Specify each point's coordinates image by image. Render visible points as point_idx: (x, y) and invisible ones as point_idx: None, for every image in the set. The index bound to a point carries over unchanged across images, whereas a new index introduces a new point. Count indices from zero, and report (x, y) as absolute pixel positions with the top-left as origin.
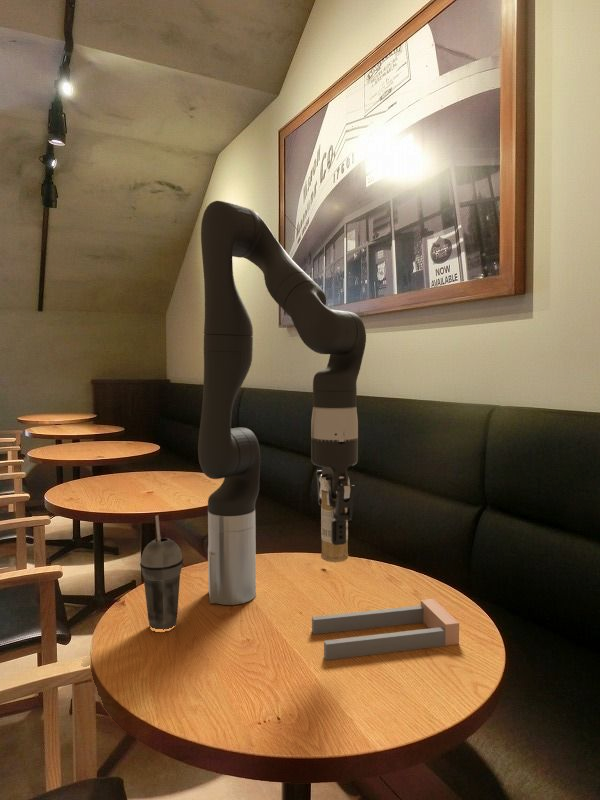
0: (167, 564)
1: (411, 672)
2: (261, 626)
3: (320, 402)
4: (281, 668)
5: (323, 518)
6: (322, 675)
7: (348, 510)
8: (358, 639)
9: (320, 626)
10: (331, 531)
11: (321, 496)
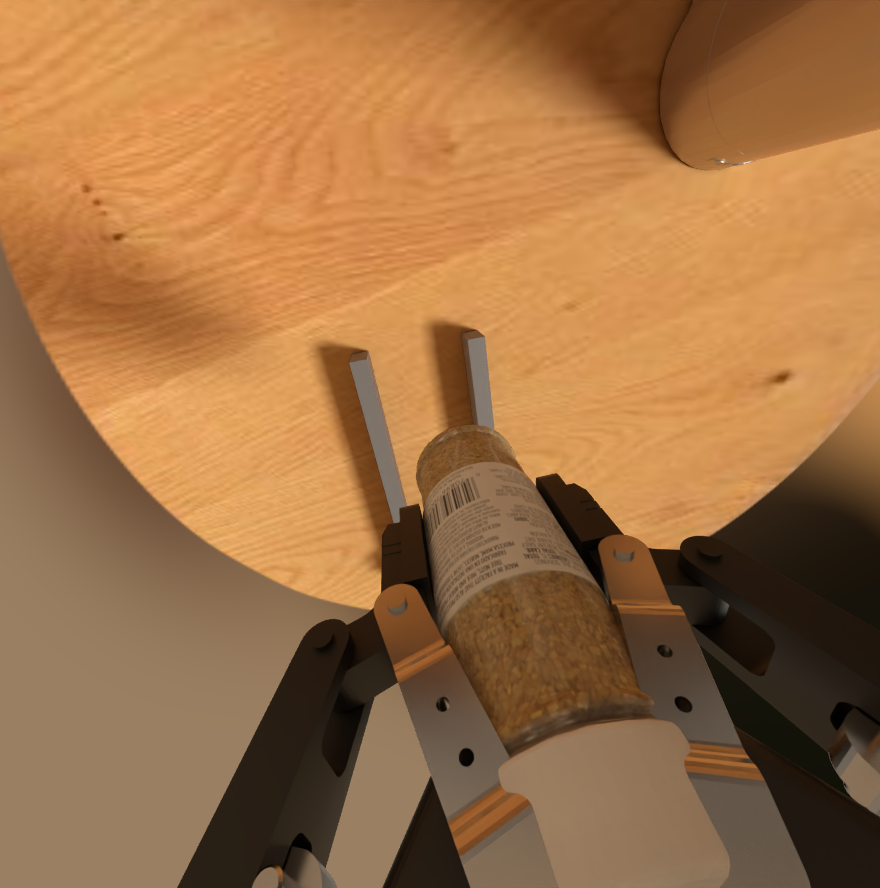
0: None
1: (320, 496)
2: (516, 191)
3: None
4: (313, 247)
5: (478, 539)
6: (294, 342)
7: (334, 732)
8: (373, 431)
9: (466, 353)
10: (431, 532)
11: (627, 629)
